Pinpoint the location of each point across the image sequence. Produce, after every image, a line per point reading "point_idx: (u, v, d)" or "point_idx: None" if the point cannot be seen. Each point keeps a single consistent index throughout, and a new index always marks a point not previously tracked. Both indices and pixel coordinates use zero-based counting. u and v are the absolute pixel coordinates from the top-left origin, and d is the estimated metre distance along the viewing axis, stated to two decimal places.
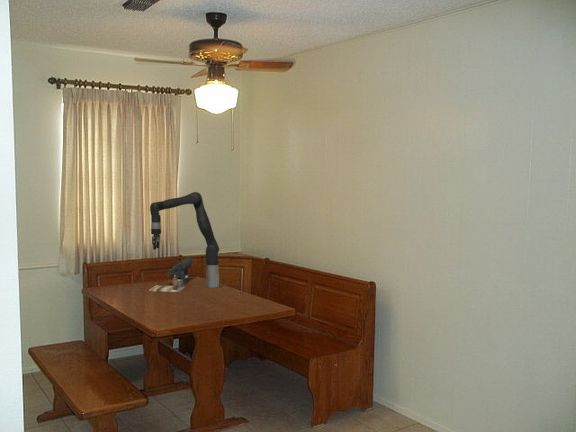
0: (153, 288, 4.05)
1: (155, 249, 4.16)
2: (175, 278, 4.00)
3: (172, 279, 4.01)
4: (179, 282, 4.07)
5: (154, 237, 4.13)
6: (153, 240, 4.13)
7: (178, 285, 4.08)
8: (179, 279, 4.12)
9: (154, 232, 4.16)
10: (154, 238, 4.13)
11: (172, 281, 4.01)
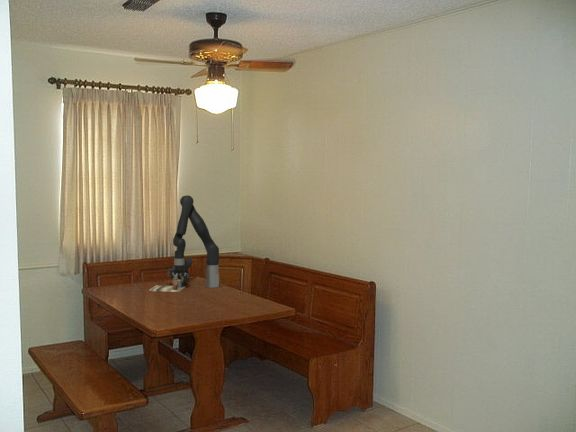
0: (153, 288, 4.05)
1: None
2: (175, 278, 4.00)
3: (172, 279, 4.01)
4: (179, 282, 4.07)
5: None
6: (186, 277, 4.10)
7: (178, 285, 4.08)
8: (179, 279, 4.12)
9: None
10: (187, 275, 4.10)
11: (172, 281, 4.01)
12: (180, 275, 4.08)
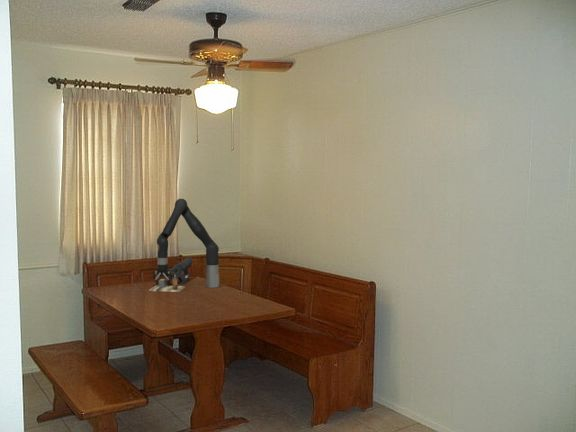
0: (153, 288, 4.05)
1: (168, 284, 4.12)
2: (175, 278, 4.00)
3: (172, 279, 4.01)
4: (163, 282, 4.08)
5: (171, 272, 4.11)
6: (171, 275, 4.10)
7: (161, 285, 4.08)
8: None
9: (167, 267, 4.10)
10: (171, 273, 4.11)
11: (172, 281, 4.01)
12: (164, 274, 4.09)
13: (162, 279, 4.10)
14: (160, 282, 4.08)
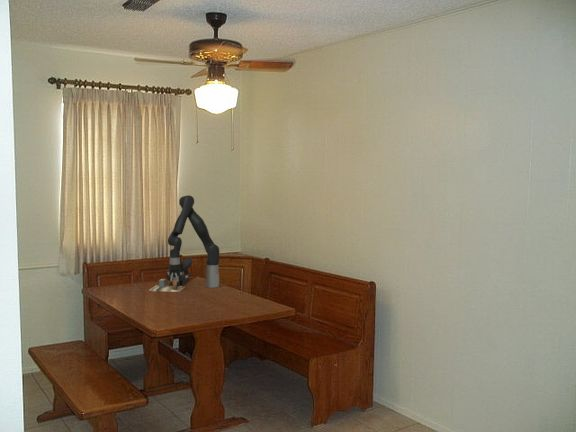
0: (153, 288, 4.05)
1: None
2: (175, 278, 4.00)
3: (172, 279, 4.01)
4: (163, 282, 4.08)
5: (183, 274, 4.02)
6: (182, 277, 4.01)
7: (161, 285, 4.08)
8: None
9: (179, 267, 4.01)
10: None
11: (172, 281, 4.01)
12: (175, 275, 4.00)
13: (162, 279, 4.10)
14: (160, 282, 4.08)
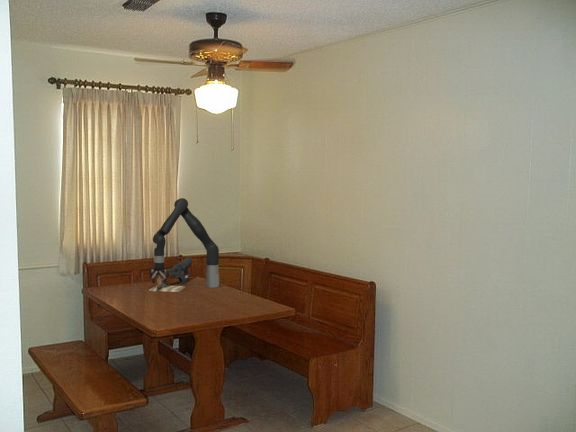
0: (153, 288, 4.05)
1: None
2: (159, 277, 4.02)
3: None
4: (163, 282, 4.08)
5: (168, 270, 4.03)
6: (168, 273, 4.02)
7: None
8: None
9: None
10: (168, 271, 4.03)
11: None
12: (160, 273, 4.01)
13: (162, 279, 4.10)
14: None
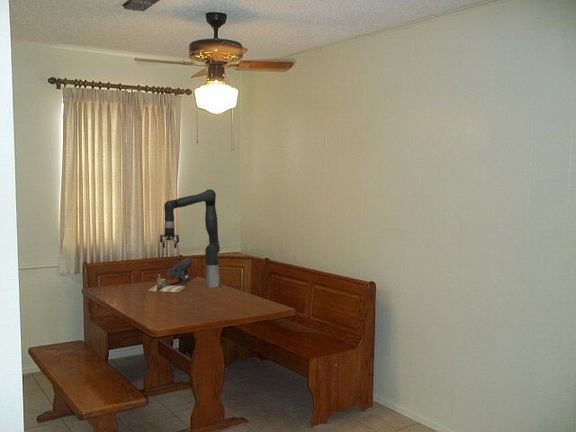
0: (153, 288, 4.05)
1: None
2: (159, 277, 4.02)
3: None
4: (163, 282, 4.08)
5: (178, 235, 4.14)
6: (178, 238, 4.13)
7: None
8: None
9: (174, 231, 4.13)
10: (178, 236, 4.14)
11: None
12: (171, 238, 4.12)
13: (162, 279, 4.10)
14: None
